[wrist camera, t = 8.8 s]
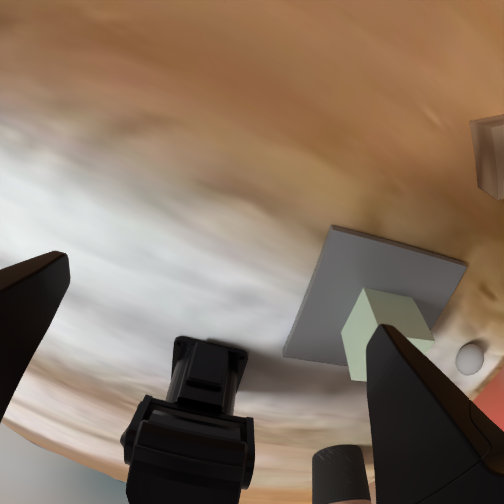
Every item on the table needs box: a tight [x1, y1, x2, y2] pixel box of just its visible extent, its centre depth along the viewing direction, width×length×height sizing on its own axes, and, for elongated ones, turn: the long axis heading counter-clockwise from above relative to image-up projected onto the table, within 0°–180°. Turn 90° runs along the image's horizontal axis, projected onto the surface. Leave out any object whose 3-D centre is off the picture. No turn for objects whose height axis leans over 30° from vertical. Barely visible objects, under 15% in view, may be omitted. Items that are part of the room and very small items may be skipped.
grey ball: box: [456, 344, 484, 375], centre depth 25 cm, size 3×3×3 cm
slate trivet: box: [283, 225, 467, 366], centre depth 24 cm, size 12×12×1 cm
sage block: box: [341, 287, 435, 382], centre depth 21 cm, size 4×4×5 cm
